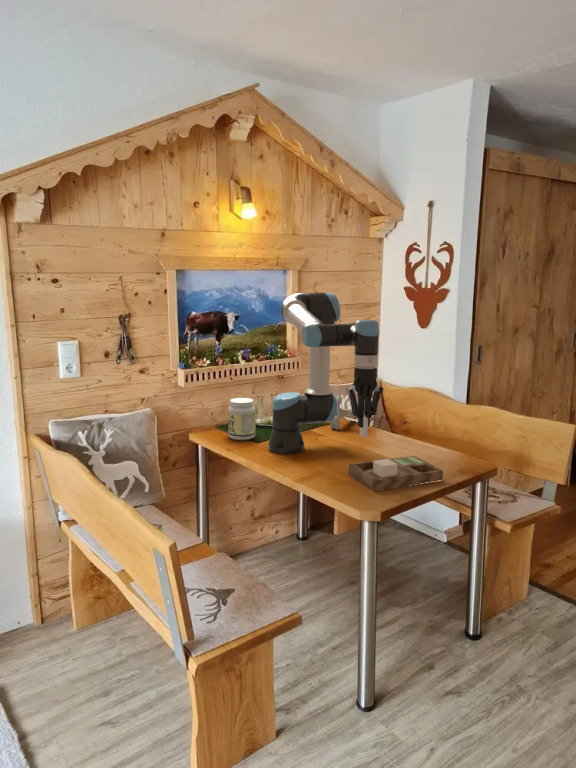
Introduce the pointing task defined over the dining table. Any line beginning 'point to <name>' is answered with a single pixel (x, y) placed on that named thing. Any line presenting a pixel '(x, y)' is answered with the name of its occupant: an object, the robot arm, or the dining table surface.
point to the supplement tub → (241, 419)
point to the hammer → (340, 414)
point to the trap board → (407, 473)
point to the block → (385, 468)
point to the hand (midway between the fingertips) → (363, 436)
